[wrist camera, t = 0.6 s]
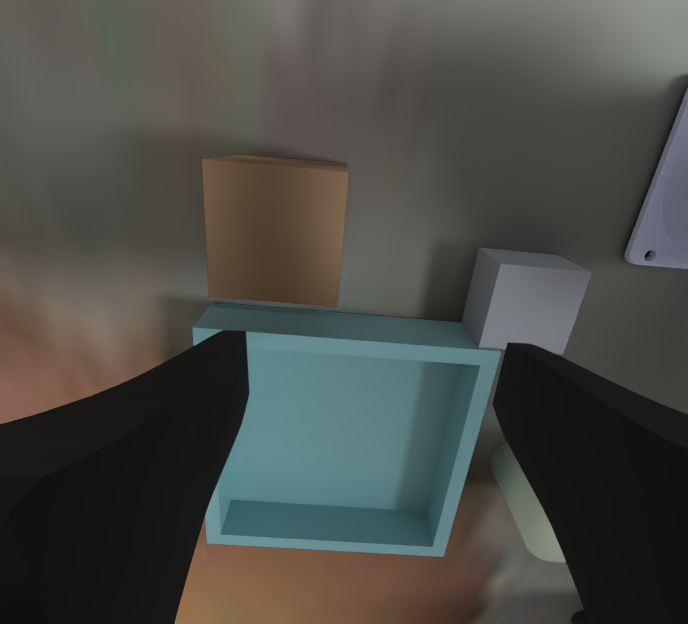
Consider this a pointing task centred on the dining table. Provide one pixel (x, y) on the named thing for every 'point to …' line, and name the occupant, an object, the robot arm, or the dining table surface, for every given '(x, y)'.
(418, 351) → the tray
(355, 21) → the dining table surface
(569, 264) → the slate block
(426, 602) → the dining table surface
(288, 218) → the walnut block
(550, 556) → the sage cylinder
